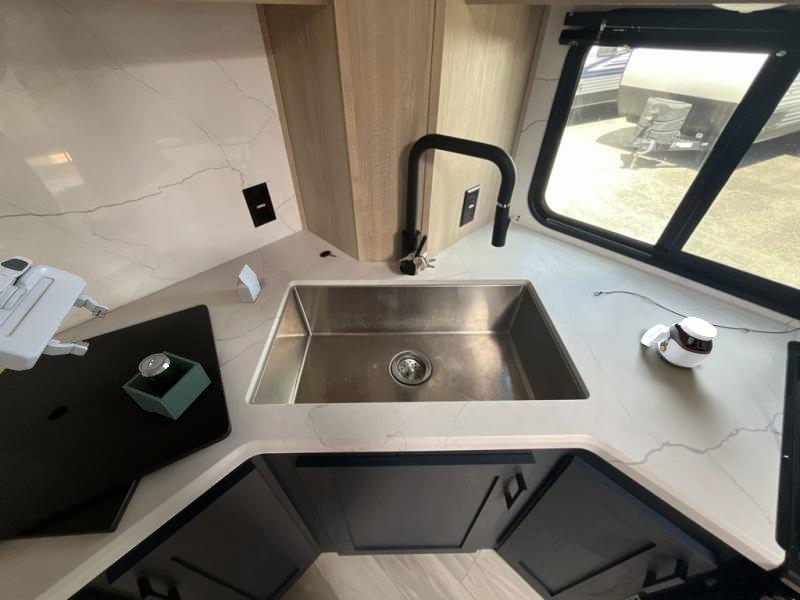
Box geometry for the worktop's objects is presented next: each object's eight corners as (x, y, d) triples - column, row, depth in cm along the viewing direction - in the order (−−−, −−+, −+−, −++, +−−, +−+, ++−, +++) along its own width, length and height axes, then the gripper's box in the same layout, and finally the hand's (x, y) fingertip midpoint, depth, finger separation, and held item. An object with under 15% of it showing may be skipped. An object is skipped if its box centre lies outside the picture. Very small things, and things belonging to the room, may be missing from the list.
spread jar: (697, 374, 83) (729, 344, 75) (650, 366, 84) (676, 336, 77) (677, 340, 92) (703, 310, 84) (634, 333, 93) (656, 303, 86)
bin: (178, 423, 69) (160, 401, 64) (142, 409, 72) (121, 387, 66) (213, 385, 77) (199, 363, 71) (179, 373, 79) (164, 351, 74)
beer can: (184, 405, 72) (159, 373, 64) (159, 406, 72) (131, 374, 64) (194, 385, 76) (172, 352, 68) (171, 385, 76) (146, 353, 68)
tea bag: (260, 289, 105) (252, 263, 98) (254, 302, 100) (244, 276, 93) (249, 288, 105) (240, 263, 98) (242, 302, 100) (231, 276, 93)
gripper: (-61, 333, 40) (81, 364, 49) (25, 250, 55) (122, 285, 64) (-75, 364, 42) (64, 388, 51) (12, 275, 57) (108, 306, 66)
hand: (97, 330), depth 58 cm, fingers open, 8 cm apart
